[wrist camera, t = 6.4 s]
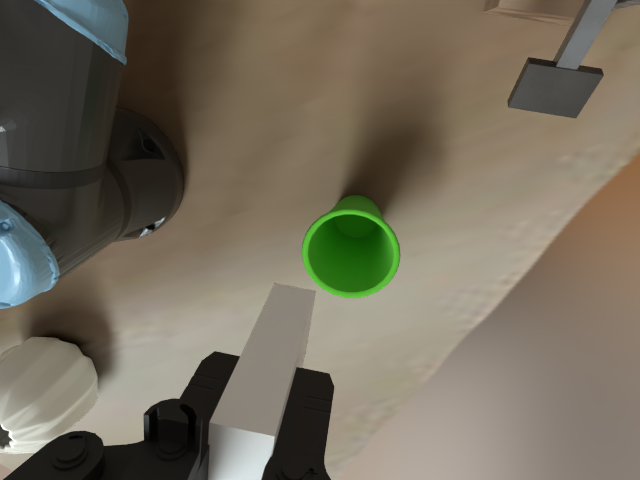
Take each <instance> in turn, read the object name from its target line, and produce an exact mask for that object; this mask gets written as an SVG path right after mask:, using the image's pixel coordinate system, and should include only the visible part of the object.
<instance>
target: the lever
mask: <svg viewBox="0 0 640 480" xmlns="http://www.w3.org/2000/svg"><path fill="white" fill-rule="evenodd" d="M616 2H617V0H585V1H584V3H583V5H582V7H581V9H580V10H579V12H578V14H577V16H576V18H575V20H574V22H573V24H572V26H571V28H570V29H569V31H568V33H567V35H566V37H565V39H564V41H563V43H562V45H561V46H560V48H559V50H558V52H557V54H556V56H555V58H554V60H553V61H549V60H542V59H536V58H529V57H528V59H527V61H526V63H525V65H524V67H523V69H522V71H521V74H520V76H519V78H518V80H517V82H516V84H515V86H514V88H513V90H512V92H511V95H510V97H509V99H508V107H510V108H516V109H522V110H528V111H534V112H540V113H546V114H552V115H558V116H565V117H571V118H577V116H578V114H579V113H580V111H581V110H582V108H583V107H584V105H585V104H586V102H587V101H588V99H589V97H590V96H591V94H592V93H593V91H594V90H595V88H596V87H597V85H598V84H599V82H600V80H601V79H602V77H603V76H604V75H603V72H602V69H600V68H593V67H587V66H581V65H580V64H581V62H582V60H583V58H584V57H585V55H586V53H587V52H588V50H589V48H590V46H591V45H592V43H593V41H594V40H595V38H596V36H597V34H598V33H599V31H600V29H601V28H602V26H603V24H604V23H605V21H606V19H607V17H608V16H609V14H610V12H611V11H612V9H613V7H614V5H615V4H616Z"/></svg>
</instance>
